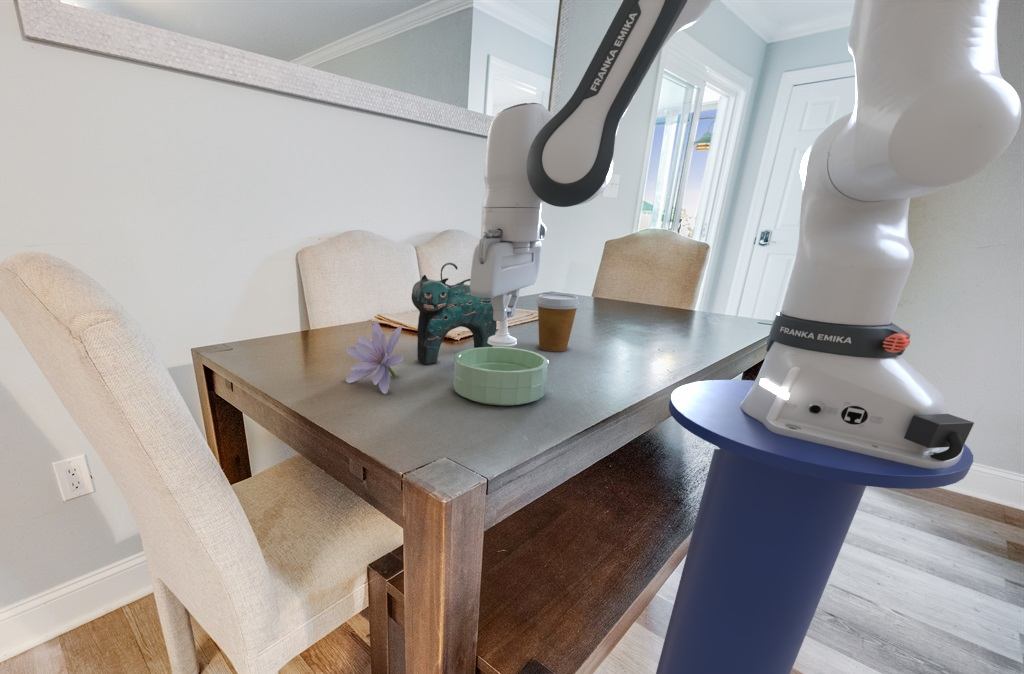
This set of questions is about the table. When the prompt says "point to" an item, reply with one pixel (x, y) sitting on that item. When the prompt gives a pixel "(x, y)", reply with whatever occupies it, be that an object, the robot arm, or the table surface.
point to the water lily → (375, 357)
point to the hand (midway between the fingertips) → (503, 318)
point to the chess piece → (503, 331)
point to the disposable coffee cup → (555, 320)
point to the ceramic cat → (449, 315)
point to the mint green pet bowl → (500, 375)
